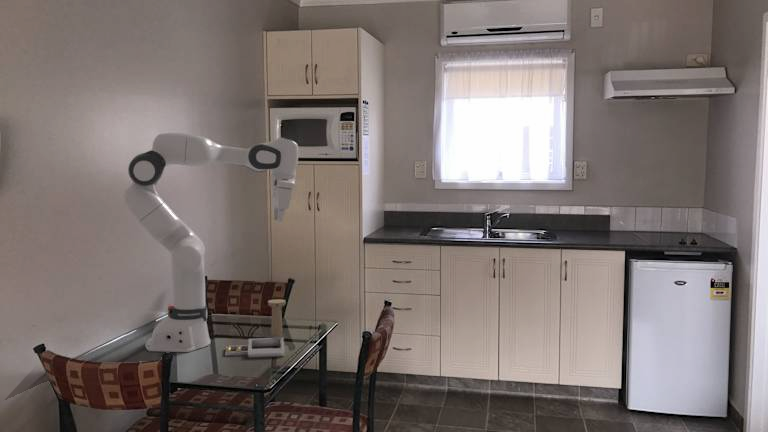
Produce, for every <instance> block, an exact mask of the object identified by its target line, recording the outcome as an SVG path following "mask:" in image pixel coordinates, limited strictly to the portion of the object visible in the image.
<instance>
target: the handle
mask: <svg viewBox="0 0 768 432" xmlns="http://www.w3.org/2000/svg"><path fill="white" fill-rule="evenodd" d="M267 305H268V306H269V307H271V327H270V328H271V338H282V336H283V335H282V334H283V317H282V316H283V315H282V307H284V306H285V305H286V299H270V300H267Z"/></svg>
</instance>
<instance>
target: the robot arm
mask: <svg viewBox="0 0 768 432" xmlns="http://www.w3.org/2000/svg"><path fill="white" fill-rule="evenodd" d="M299 150H300V149H299V145H298V143H297V142H295V141H294V140H293V139H289V138H286V137H282V136H281V137H277V138H275V140H272V141H267V142H263V143H258V144H256V145H253V146H251V147H246V148H245V147H244V148H243V147H234V146H227V145H221V144H219V143H217V142H214V141H213V140H211V139H209V138H207V137H205V136H201V135H198V134H194V133H184V132H183V133H182V132H166V133H160V134H158V135H157V136H155V138H154V140H153V143H152V148H151V150H148V151H146V152H142V153H138V154H137V155H135V156H134V157H133V158H132V159H131V161H130V162H129V164H128V175H129V177H130V179H131V180H132V184H131V185H130V186H128V187H127V189H125V191H124V194H123V197H122V199H123V201H124V203H125V205H126V207H127V209H128V210H129V211H130V213H131V214H132V215H133V216H134V218H135V219H136V220H137V221H138V223H139V224H141V226H142V227H143V228H144V229H145V231H146V232H148V234H149V235H150V236H151V237H152V238H153V239H154V240H155V241H157V243H159V244H160V245H161V246H163V248H165V249H166V250H167V251H168V252H169V253H170V255H171V257H170V259H171V273H172V276H171V277H172V286H173V287H172V289H173V290H172V291H173V295H172V296H173V304H168V306H167V317H165V319H163V320H162V321H160V322H159V323H158V324H157V325H156V326H155V327H154V328H153V331H152V334H151V337H150V338H149V339H148V340H147V341H146V342H145V344H144V345H145V347H146V349H147V350H148V351H147V350H146V349H145V350H146V351H147V352H165V353H167V352H170V353H172V352H173V353H174V352H175V353H179V352H180V353H190V352H193V351H195V350H197V349H202V348H205V347H206V346H207V347H208V346H209V345H210V344H211V342H212V341H211V338H210V335H209V330H208V324H207V322H208V321H207V320H208V307H207V306H208V305H207V303H206V276H205V275H206V274H205V267H206V266H205V254H206V247H205V244H204V242H203V240H202V239H201V238H200V237H199V236H198V235H197V234H196V233H195V232H194V231H193V230H192V229H191V228H190V227H189V226H188V225H187V224H186V223H184V222H183V221H182V219H180V218H179V216H178V215H177V214H176V213H175V212H174V211H173V209H171V207H170V206H169V205H168V204H167V202H166V201H165V200H164V199H163V198H162V197H161V196H160V195H159V193H158V191H157V190H156V185H157V183H158V182H159V181H160V180H161V179H162V177H163V175H164V171H165V168H166V167H167V166H169V165H179V166H181V165H182V166H190V167H191V166H192V167H193V166H195V167H197V166H206V165H212V164H226V165H227V164H228V165H236V166H243V167H247V168H248V169H250V170H252V171H254V172H256V173H264V172H267V171H271V177H270V183H269V186H270V187H273V188H272V192H273V194H272V200H271V207H272V208H274V209H273V220H274V221H277V222H283V220H284V215H285V211H286V210H288V209H289V207H290V204H291V200H292V199H291V198H292V193H293V190H295V186H296V178H297V173H296V171H297V170H296V169H297V167H298V165H299ZM145 347H144V348H145Z"/></svg>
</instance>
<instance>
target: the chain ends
mask: <svg viewBox="0 0 768 432" xmlns="http://www.w3.org/2000/svg"><path fill="white" fill-rule="evenodd" d="M275 346H276V347H275ZM254 347H255V348H254ZM256 347H269V348H256ZM271 347H272V348H271ZM224 356H225V357H228V356H232V357H233V356H247V358H249V359H250V358H268V357H269V358H271V357H275V358H276V357H285V342H284V337H281V338H272V337H263V338H262V337H261V338H258V337H257V338H248V342H247V344H244V345H242V344H237V345H230V344H228V345H226V346H225V353H224Z"/></svg>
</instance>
